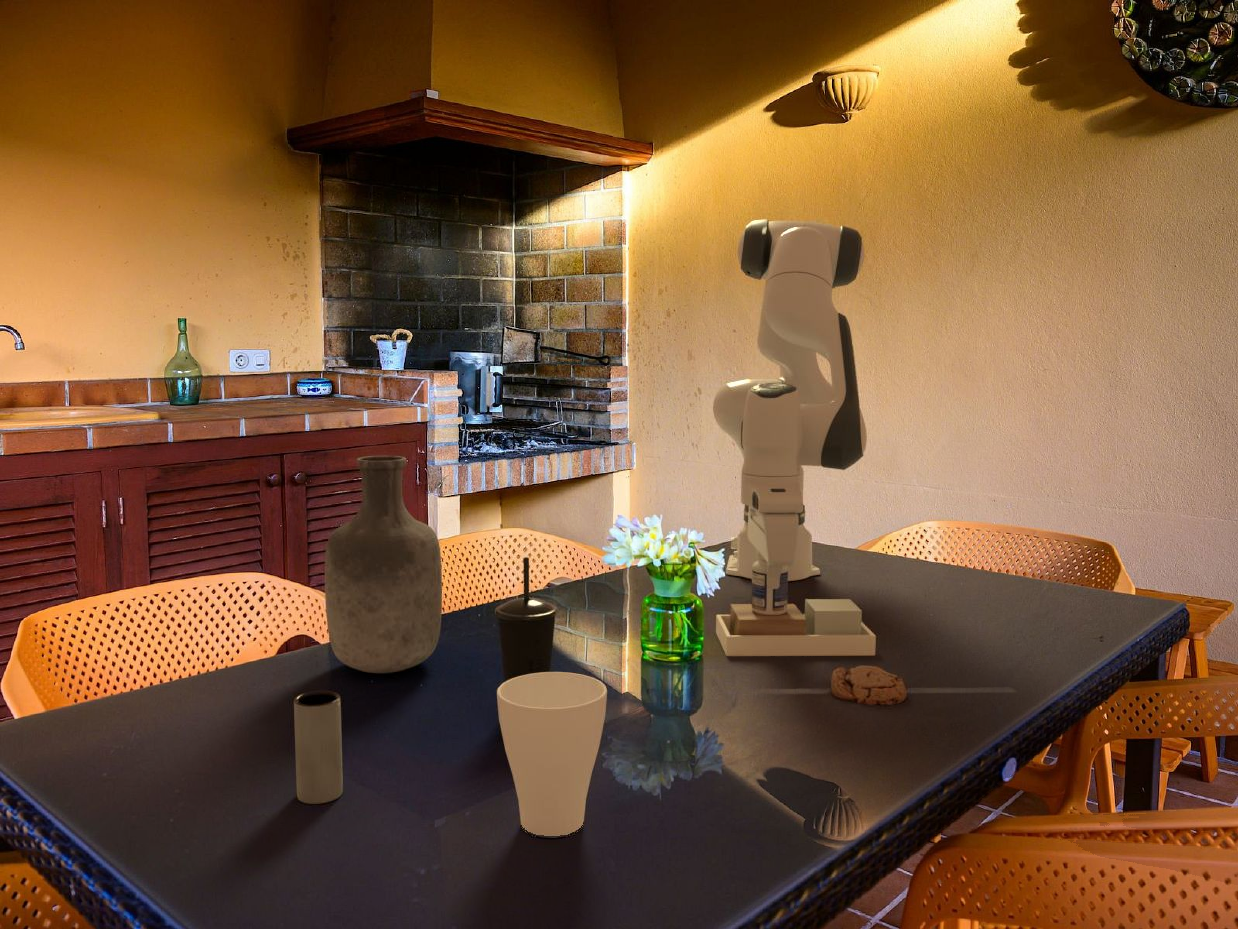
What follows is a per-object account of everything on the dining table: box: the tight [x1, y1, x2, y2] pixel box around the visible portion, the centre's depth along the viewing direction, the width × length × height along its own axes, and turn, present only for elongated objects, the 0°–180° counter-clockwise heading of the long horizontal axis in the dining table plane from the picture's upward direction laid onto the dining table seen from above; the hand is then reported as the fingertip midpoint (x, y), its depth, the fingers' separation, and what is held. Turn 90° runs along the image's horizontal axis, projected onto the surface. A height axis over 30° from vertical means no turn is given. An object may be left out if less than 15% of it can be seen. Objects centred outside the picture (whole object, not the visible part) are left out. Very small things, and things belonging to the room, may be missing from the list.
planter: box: [293, 690, 344, 805], centre depth 105 cm, size 4×4×10 cm
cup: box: [496, 671, 608, 836], centre depth 99 cm, size 10×10×14 cm
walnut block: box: [729, 603, 807, 635], centre depth 157 cm, size 9×10×5 cm
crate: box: [715, 613, 877, 657], centre depth 157 cm, size 12×22×4 cm, turn 92°
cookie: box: [830, 664, 907, 706], centre depth 138 cm, size 10×11×3 cm
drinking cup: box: [494, 556, 559, 683], centre depth 127 cm, size 8×8×20 cm
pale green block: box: [804, 598, 863, 635], centre depth 157 cm, size 7×7×6 cm
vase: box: [324, 455, 443, 674], centre depth 144 cm, size 16×16×30 cm
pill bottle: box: [751, 549, 789, 615], centre depth 156 cm, size 5×5×10 cm
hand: (768, 582), depth 156 cm, fingers closed on pill bottle, 5 cm apart
